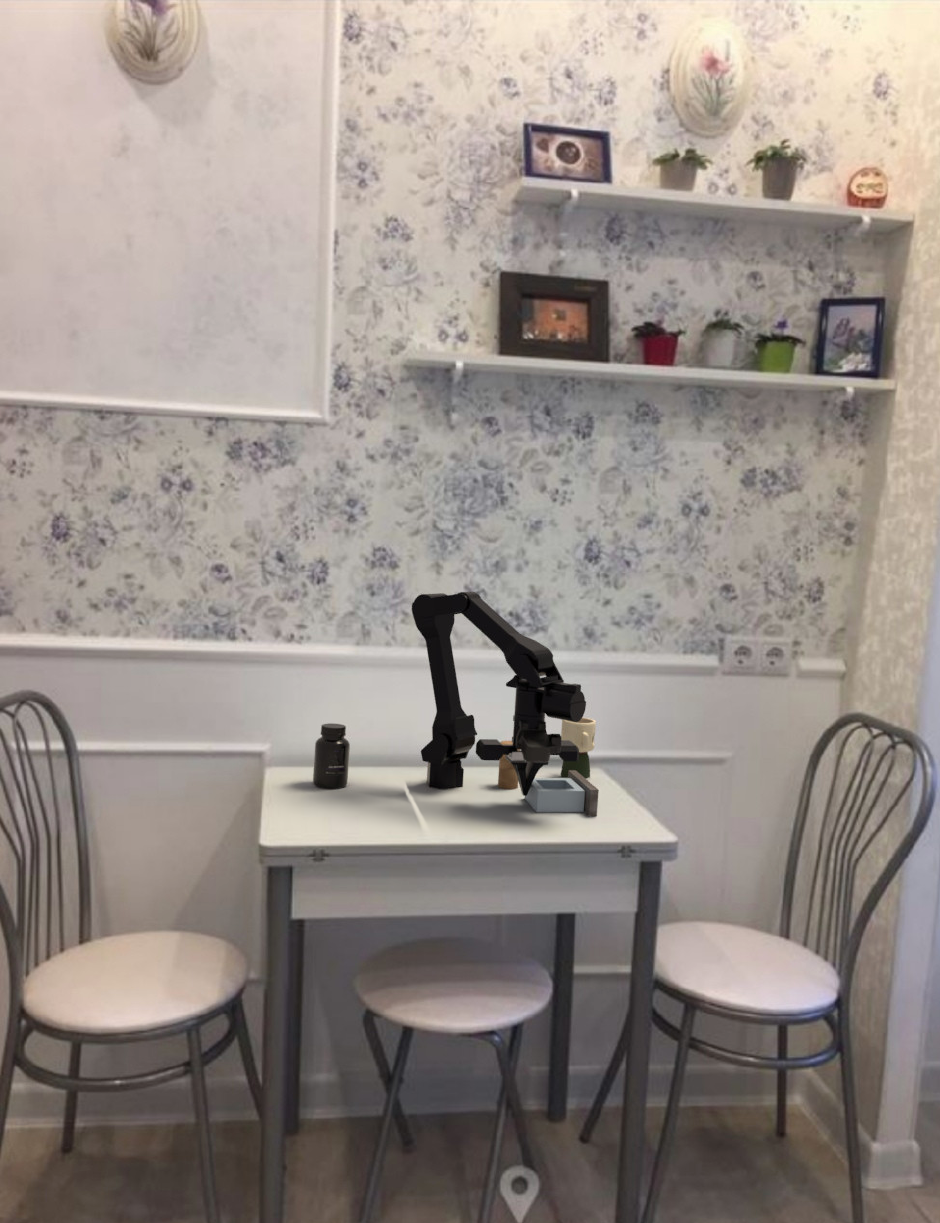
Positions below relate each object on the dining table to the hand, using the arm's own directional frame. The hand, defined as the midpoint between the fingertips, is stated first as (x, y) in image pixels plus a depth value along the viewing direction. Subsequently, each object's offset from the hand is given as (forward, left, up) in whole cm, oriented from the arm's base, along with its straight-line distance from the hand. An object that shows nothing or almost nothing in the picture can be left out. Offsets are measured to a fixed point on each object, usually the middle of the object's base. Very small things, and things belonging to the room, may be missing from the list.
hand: (524, 795), depth 193 cm
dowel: (0, +13, -3) cm, 13 cm away
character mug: (+17, +22, -3) cm, 28 cm away
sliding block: (+6, 0, -2) cm, 6 cm away
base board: (+3, 0, -3) cm, 4 cm away
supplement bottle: (-35, +18, -3) cm, 39 cm away
